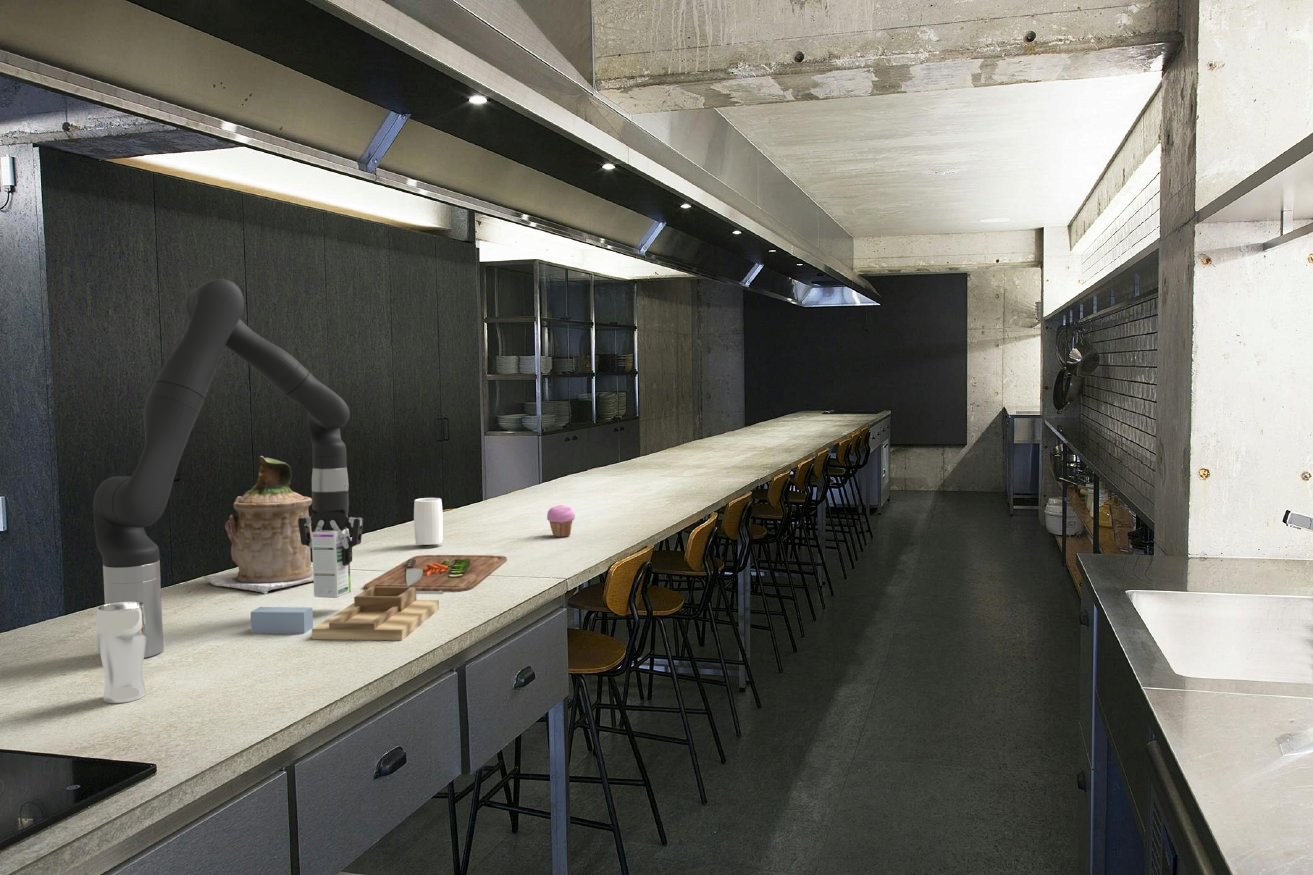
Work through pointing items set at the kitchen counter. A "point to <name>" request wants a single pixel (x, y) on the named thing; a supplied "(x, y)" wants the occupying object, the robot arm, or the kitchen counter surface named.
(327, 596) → the syrup box
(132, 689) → the beer glass
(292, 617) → the block
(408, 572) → the chopping board
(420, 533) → the cup
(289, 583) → the cookie jar
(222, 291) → the robot arm
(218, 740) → the kitchen counter surface
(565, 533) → the cupcake
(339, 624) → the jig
